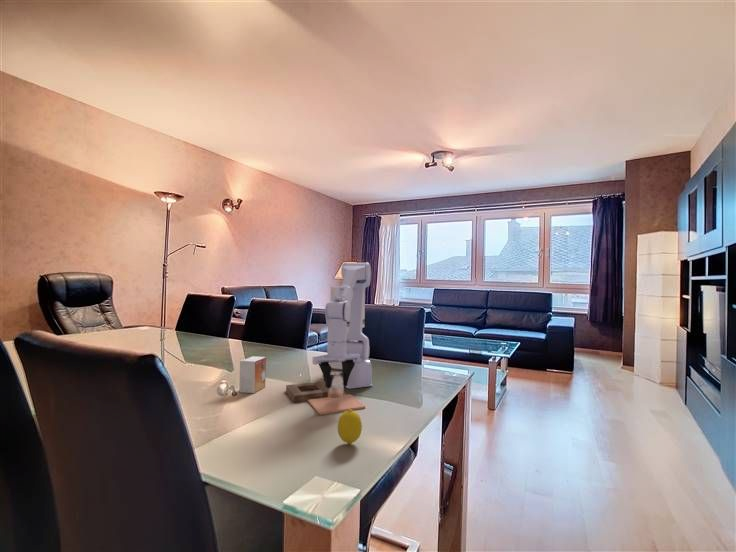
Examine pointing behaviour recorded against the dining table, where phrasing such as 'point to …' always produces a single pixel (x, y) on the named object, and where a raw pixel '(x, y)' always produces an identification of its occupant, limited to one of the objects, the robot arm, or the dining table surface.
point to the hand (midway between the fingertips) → (336, 386)
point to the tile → (335, 404)
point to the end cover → (336, 385)
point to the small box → (252, 374)
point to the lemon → (349, 426)
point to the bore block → (307, 391)
